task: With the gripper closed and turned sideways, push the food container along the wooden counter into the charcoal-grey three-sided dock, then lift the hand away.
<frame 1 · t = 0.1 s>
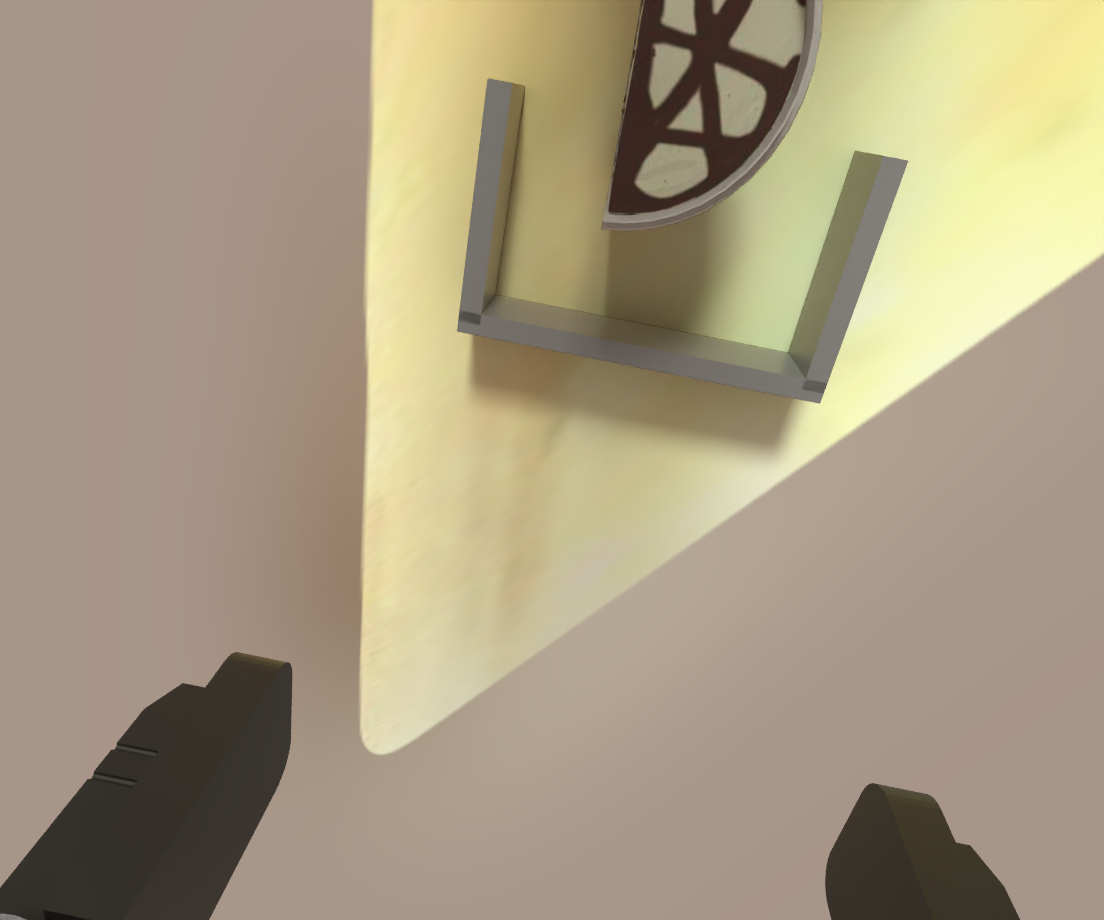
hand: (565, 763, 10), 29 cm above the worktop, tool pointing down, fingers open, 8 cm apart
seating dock: (663, 232, 35), on the worktop
food container: (701, 68, 32), on the worktop
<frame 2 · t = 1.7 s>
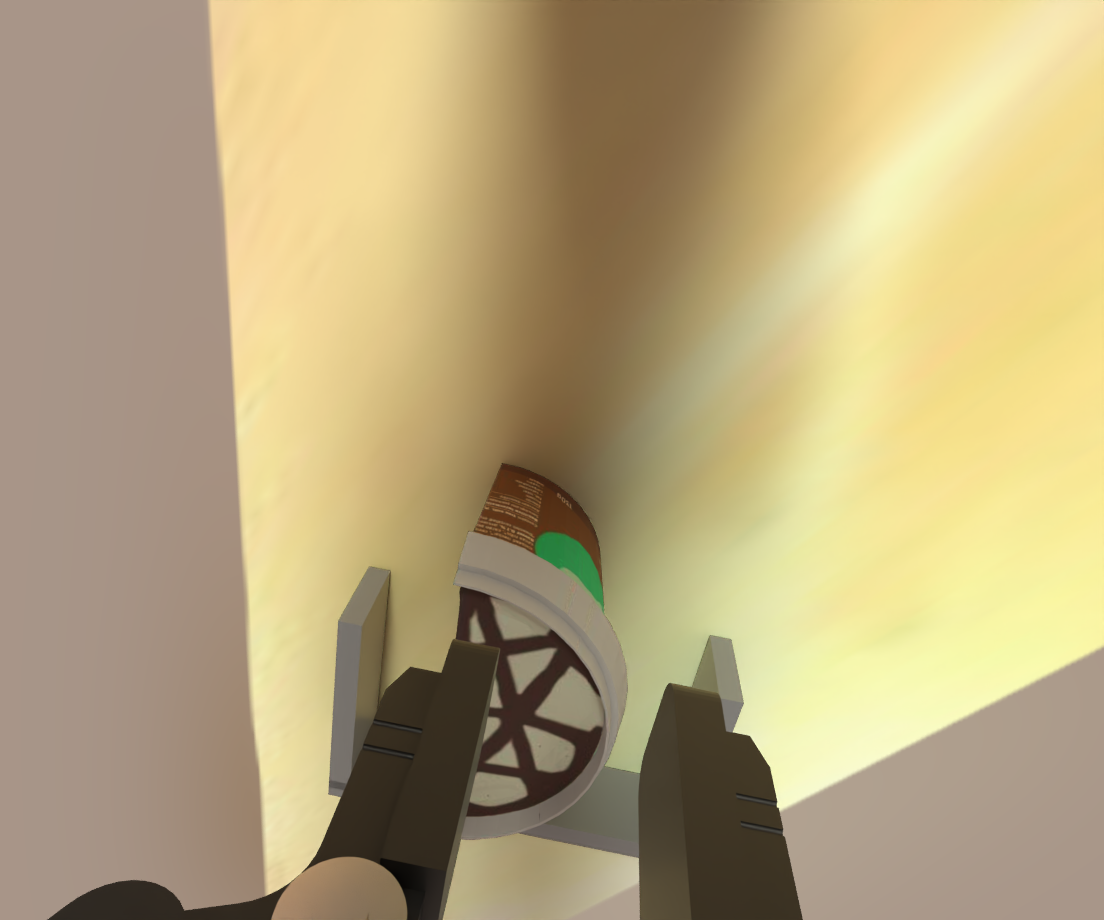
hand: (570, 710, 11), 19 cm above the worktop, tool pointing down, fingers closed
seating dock: (532, 684, 36), on the worktop
food container: (558, 564, 33), on the worktop
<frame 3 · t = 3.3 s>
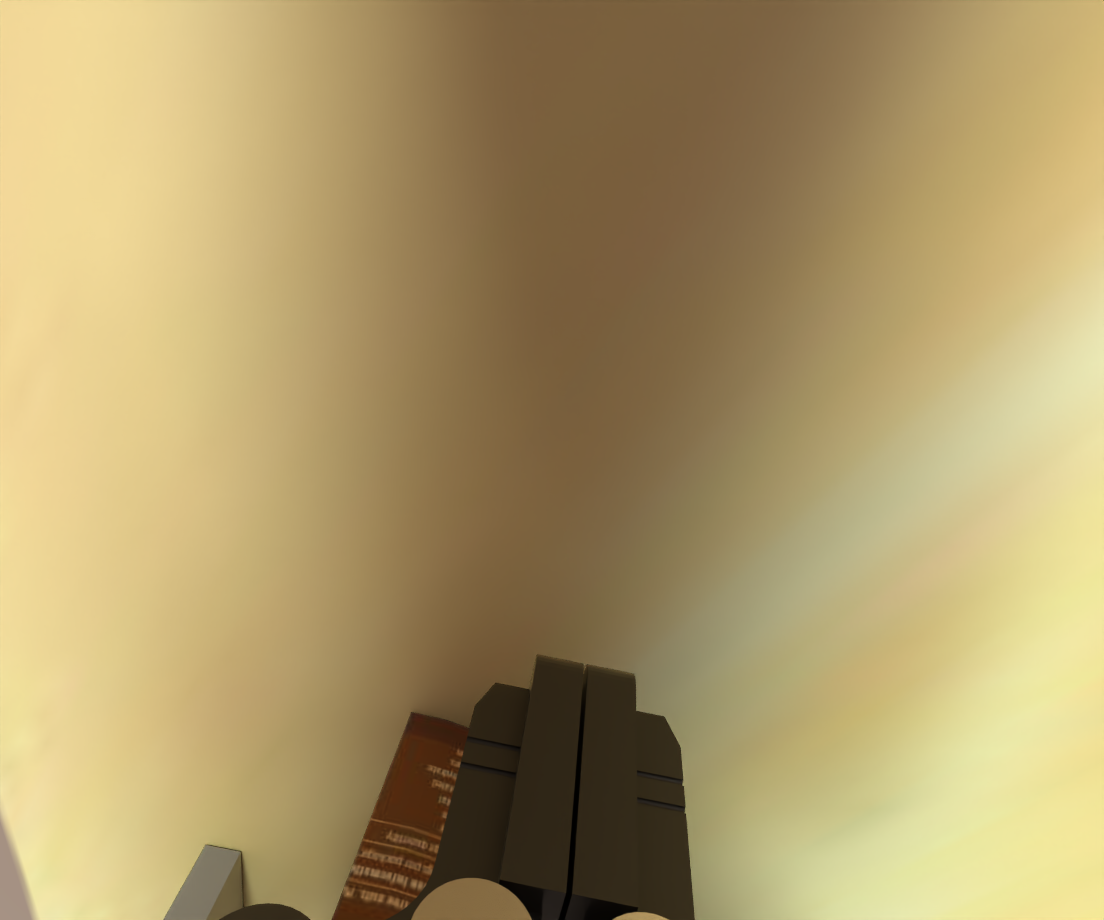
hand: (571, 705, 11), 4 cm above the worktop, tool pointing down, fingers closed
food container: (517, 852, 20), on the worktop
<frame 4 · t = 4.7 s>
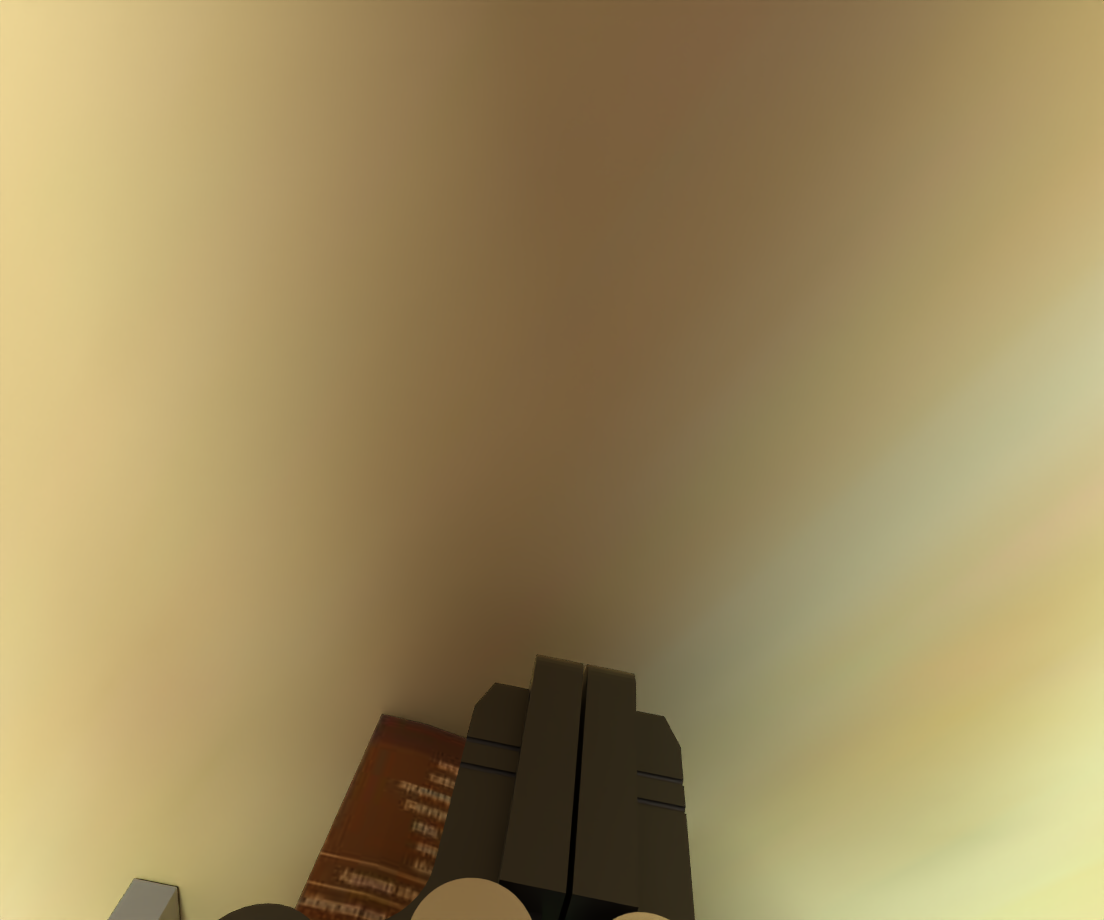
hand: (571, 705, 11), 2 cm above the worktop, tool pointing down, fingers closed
food container: (514, 889, 16), on the worktop, touching hand
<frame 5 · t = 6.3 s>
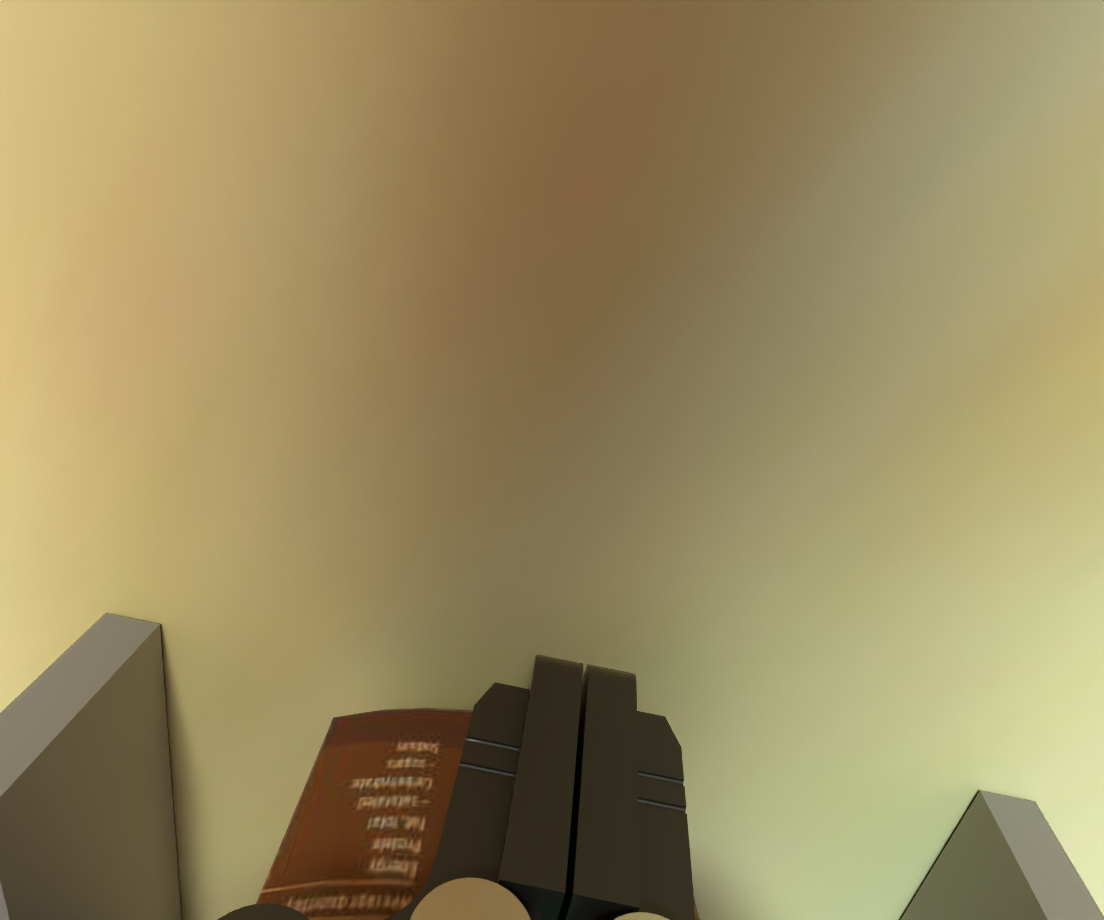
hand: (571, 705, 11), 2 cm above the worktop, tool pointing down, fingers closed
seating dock: (524, 884, 15), on the worktop
food container: (581, 838, 14), on the worktop, touching gripper
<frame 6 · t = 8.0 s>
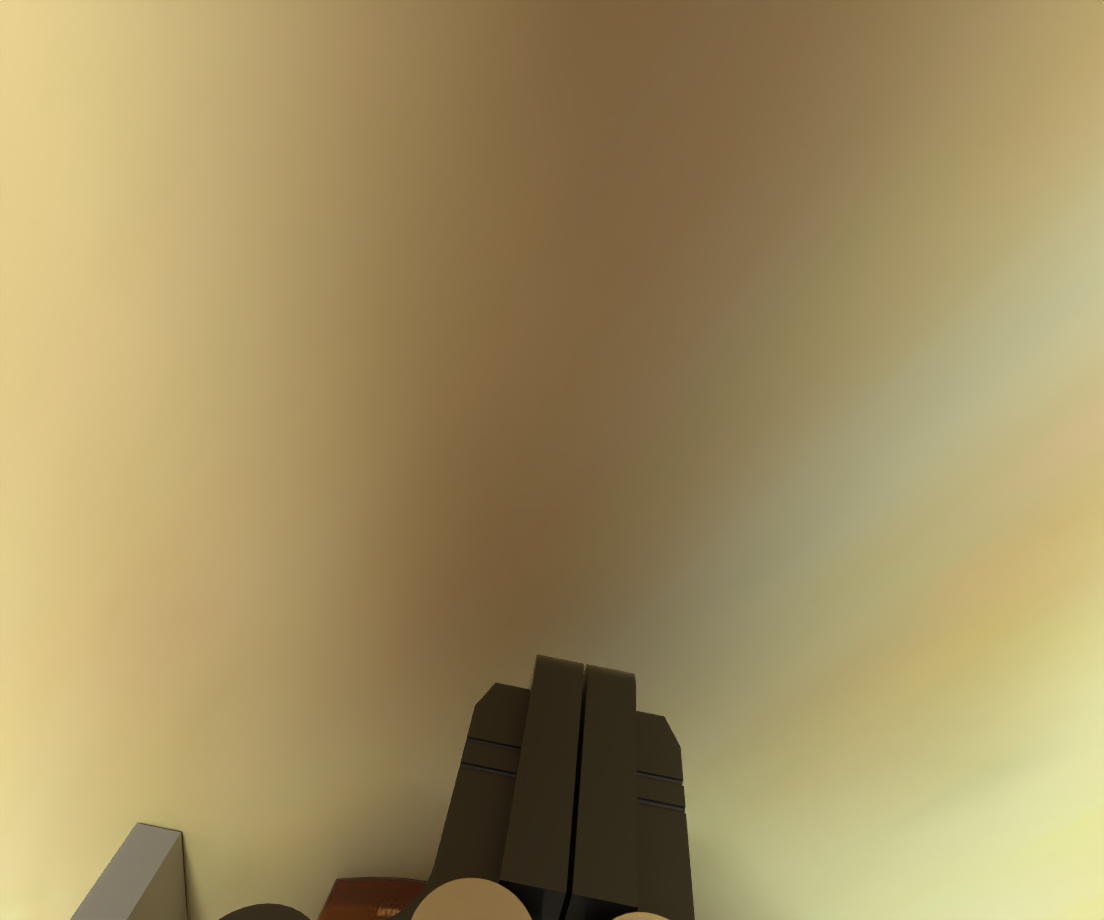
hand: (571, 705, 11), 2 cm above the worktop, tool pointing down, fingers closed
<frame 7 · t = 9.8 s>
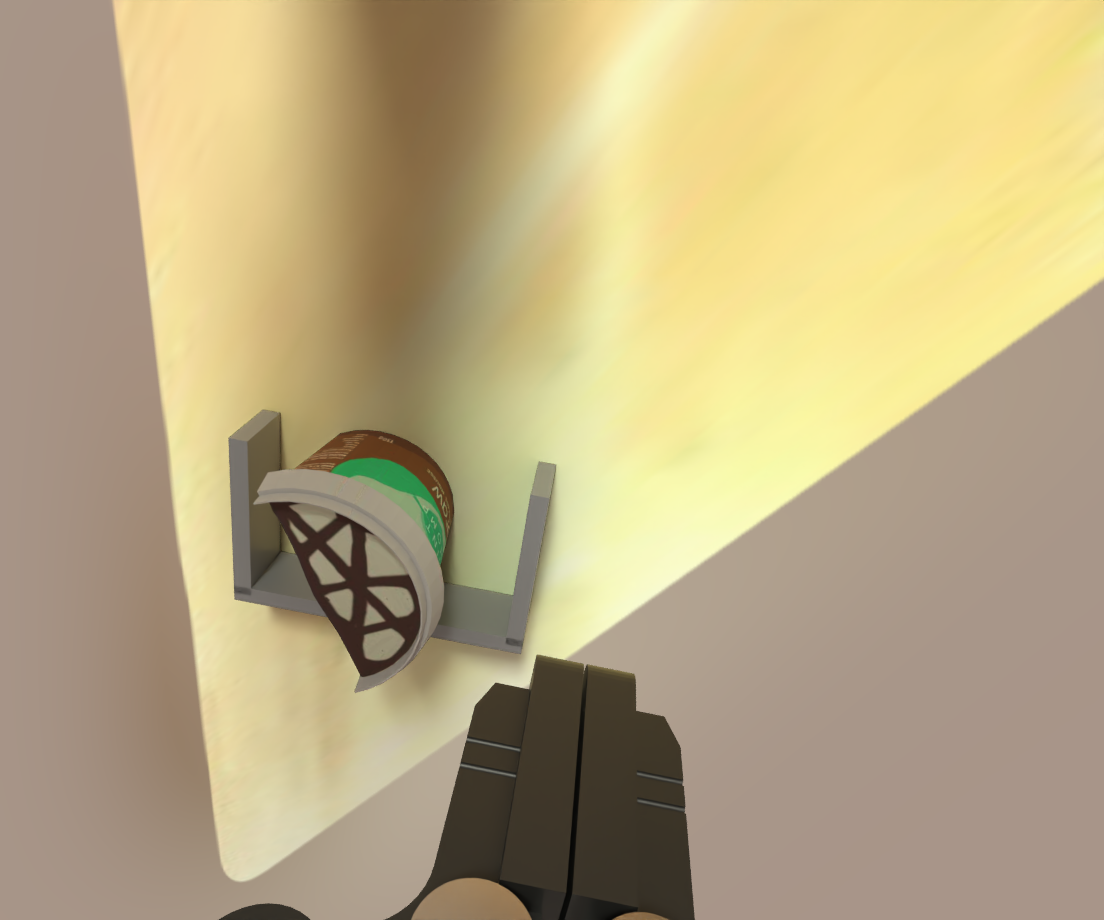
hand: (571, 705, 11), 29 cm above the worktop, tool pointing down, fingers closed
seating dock: (402, 512, 44), on the worktop
food container: (420, 489, 43), on the worktop
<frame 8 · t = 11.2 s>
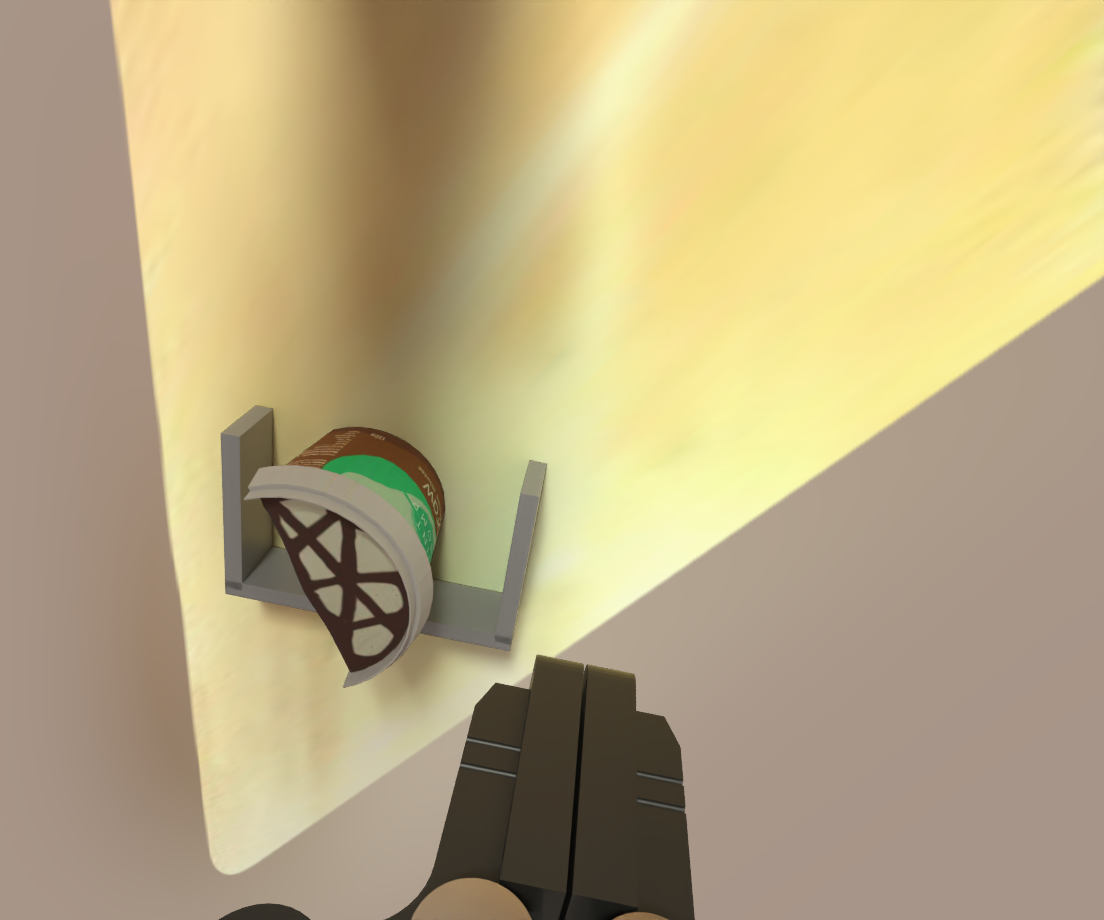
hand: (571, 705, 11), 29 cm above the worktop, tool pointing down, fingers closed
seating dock: (394, 509, 44), on the worktop
food container: (411, 486, 44), on the worktop
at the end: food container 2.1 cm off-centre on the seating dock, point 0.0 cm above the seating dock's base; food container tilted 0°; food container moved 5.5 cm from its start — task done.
